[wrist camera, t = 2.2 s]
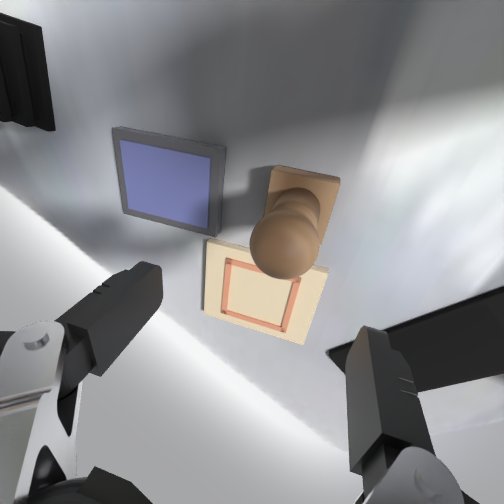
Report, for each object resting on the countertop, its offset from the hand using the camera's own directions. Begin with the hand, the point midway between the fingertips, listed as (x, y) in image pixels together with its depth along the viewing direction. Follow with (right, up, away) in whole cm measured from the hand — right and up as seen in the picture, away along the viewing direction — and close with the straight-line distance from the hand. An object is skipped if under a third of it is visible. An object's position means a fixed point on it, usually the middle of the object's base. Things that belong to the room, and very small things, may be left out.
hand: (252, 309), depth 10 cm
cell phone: (+18, -7, +16) cm, 25 cm away
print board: (+1, -2, +18) cm, 18 cm away
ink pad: (-7, +9, +14) cm, 18 cm away
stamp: (+4, +7, +12) cm, 14 cm away
